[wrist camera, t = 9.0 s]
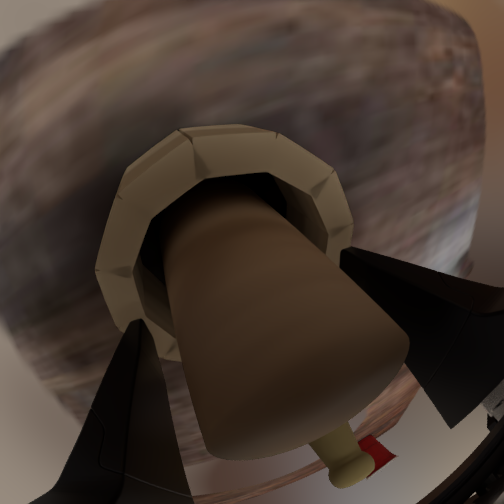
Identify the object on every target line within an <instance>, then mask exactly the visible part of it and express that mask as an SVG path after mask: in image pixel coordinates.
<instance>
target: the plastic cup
mask: <svg viewBox="0 0 504 504" xmlns="http://www.w3.org/2000/svg"><path fill="white" fill-rule="evenodd" d="M358 445H359V447H360V449H361V451H363V452H366V453H368V454H369V455H371V456H372V458H373V459H374V462H375V468H374V470H373V471H372V472H371V473H370V474H369V475H368V476H367V477H366V479H369V478H371V477H372V476H373V475H375V474H376V473H378V472H379V471H380V470H382V469H383V468H384V467H386V466H387V465H388V464H390V463H391V462H392V461H393V460H395V459H396V458H397V457H398V456H396V455H394V454H392V453H391V452H389V451H388V450H387V449H386V448H385V447H384V446H383V445H382V444H381V443H380V442H378V441H377V440H376V439H375V438H374V437H373V436H372V435H369V436H367V437H365V438H364V439H362V440H361V441H359V442H358Z"/></svg>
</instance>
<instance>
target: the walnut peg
mask: <svg viewBox="0 0 504 504" xmlns="http://www.w3.org/2000/svg"><path fill="white" fill-rule="evenodd" d="M159 239H160V247H161V254H162V261H163V268H164V274H165V281H166V287H167V293H168V298H169V304H170V309H171V314H172V319H173V324H174V329H175V334H176V339H177V343H178V348H179V352H180V357H181V361H182V365H183V369H184V373H185V377H186V381H187V385H188V389H189V392H190V396H191V400H192V403H193V407H194V410H195V414H196V417H197V420H198V424H199V427H200V430H201V433H202V436H203V439H204V442H205V445H206V448H207V450H208V452H209V453H210V454H212V455H213V456H215V457H218V458H221V459H226V460H253V459H259V458H265V457H270V456H274V455H277V454H281V453H284V452H287V451H290V450H293V449H296V448H298V447H301V446H303V445H306V444H308V443H310V442H312V441H314V440H316V439H318V438H320V437H322V436H324V435H326V434H328V433H330V432H331V431H333V430H335V429H336V428H338V427H340V426H341V425H343V424H344V423H346V422H347V421H349V420H350V419H351V418H353V417H354V416H355V415H357V414H358V413H359V412H361V411H362V410H363V409H364V408H366V407H367V406H368V405H369V404H370V403H371V402H372V401H373V400H375V399H376V398H377V397H378V396H379V395H380V394H381V393H382V392H383V390H384V389H385V388H386V387H387V386H388V385H389V384H390V382H391V381H392V380H393V379H394V377H395V376H396V374H397V373H398V372H399V370H400V368H401V367H402V365H403V363H404V361H405V359H406V357H407V354H408V351H409V344H410V342H409V337H408V335H407V334H406V333H405V332H404V331H403V330H402V329H401V328H400V327H399V326H398V325H397V323H396V322H395V321H394V320H393V319H392V318H391V317H390V316H389V315H388V314H387V313H386V312H385V311H384V310H383V309H382V308H381V307H380V306H379V305H378V304H376V303H375V302H374V301H373V300H372V299H371V298H370V297H369V296H368V295H367V294H366V293H365V292H364V291H363V290H362V289H361V288H360V287H359V286H358V285H357V284H356V283H355V282H354V281H353V280H352V279H351V278H350V277H349V276H347V275H346V274H345V273H344V272H343V271H342V270H341V269H340V268H339V267H338V266H337V265H336V264H335V263H334V262H333V261H331V260H330V259H329V258H328V257H327V256H326V255H325V254H324V253H323V252H322V251H321V250H319V249H318V248H317V247H316V246H315V245H314V244H313V243H312V242H311V241H310V240H308V239H307V238H306V237H305V236H304V235H303V234H302V233H301V232H300V231H298V230H297V229H296V228H295V227H294V226H293V225H292V224H290V223H289V222H288V221H287V220H286V219H285V218H284V217H282V216H281V215H280V214H279V213H278V212H277V211H276V210H274V209H273V208H272V207H271V206H270V205H269V204H267V203H266V202H265V201H264V200H263V199H262V198H260V197H259V196H258V195H257V194H256V193H254V192H253V191H252V190H251V189H250V188H248V187H247V186H245V185H243V184H242V183H239V182H237V181H234V180H230V179H222V178H215V179H207V180H203V181H200V182H199V183H198V184H196V185H195V186H193V187H192V188H191V189H189V190H188V191H187V192H185V193H184V194H183V195H181V196H180V197H179V198H177V199H176V200H175V201H173V202H172V203H171V204H170V205H168V207H167V208H166V210H165V212H164V214H163V217H162V220H161V223H160V229H159Z"/></svg>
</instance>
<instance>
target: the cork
mask: <svg viewBox="0 0 504 504" xmlns="http://www.w3.org/2000/svg"><path fill="white" fill-rule="evenodd" d="M308 444H309V445H310V446H311V447H312V449H313V450H314V451H315V452H316V454H317V455H318V456H319V458H320V459H321V460H322V461H323V462H324V464H325V465H326V466H327V467H328V469H329V475H328V476H329V480H330V482H331V483H332V484H333V485H334V486H335V487H337V488H346V487H349V486H352V485H354V484H356V483H357V482H359V481H361V480H363V479H364V478H366V477H367V476H368V475H369V474H370V473H371V472H372V471H373V470H374V468H375V462H374V459H373V458H372V456H371V455H369V454H368V453H366V452H363V451H361V449H360V447H359V445H358V442H357V440H356V438H355V436H354V434H353V432H352V430H351V427H350V425H349V423H348V421H347V422H346V423H344V424H343V425H341V426H340V427H338V428H336V429H335V430H333V431H331V432H330V433H328V434H326V435H324V436H322V437H320V438H318V439H316V440H314V441H312V442H310V443H308Z"/></svg>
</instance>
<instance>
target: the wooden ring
mask: <svg viewBox="0 0 504 504" xmlns="http://www.w3.org/2000/svg"><path fill="white" fill-rule="evenodd" d="M260 172H268V173H270V174H272V176H273V178H274V180H275V182H276V183H277V185H278V187H279V189H280V191H281V193H282V194H283V196H284V198H285V200H286V202H287V211H286V220H287V221H288V222H289V223H290V224H292V225H293V226H294V227H295V228H296V229H297V230H298V231H300V232H301V233H302V234H303V235H304V236H305V237H306V238H307V239H308V240H310V241H311V242H312V243H313V244H314V245H315V246H316V247H317V248H318V249H319V250H321V251H322V252H323V253H324V254H325V255H326V256H327V257H328V258H329V259H330V260H331V261H333V262H334V263H335V264H336V265H337V266H338V267H339V262H340V252H341V250H342V249H344V248H347V247H350V244H351V238H352V233H353V227H354V224H353V222H354V221H353V218H352V215H351V212H350V209H349V206H348V203H347V200H346V198H345V195H344V192H343V189H342V187H341V184H340V181H339V179H338V176H337V174H336V171H334V170H333V168H332V167H330V166H329V165H328V164H326V163H325V162H323V161H322V160H320V159H319V158H317V157H316V156H314V155H313V154H311V153H310V152H308V151H307V150H305V149H304V148H302V147H301V146H299V145H297V144H296V143H294V142H293V141H291V140H289V139H288V138H286V137H285V136H283V135H281V134H280V133H276V132H273V131H268V130H264V129H260V128H256V127H251V126H247V125H242V124H227V125H212V126H200V127H190V128H181V129H179V131H177V130H175V131H174V132H173V133H171V134H170V135H168V136H167V137H166V138H164V139H163V140H162V141H160V142H159V143H158V144H156V145H155V146H154V147H152V148H151V149H150V150H148V151H147V152H146V153H144V154H143V155H142V156H141V157H139V158H138V159H137V160H136V161H134V162H133V163H132V164H131V165H130V166H128V167H127V169H126V170H125V172H124V175H123V177H122V180H121V182H120V185H119V188H118V191H117V193H116V196H115V199H114V202H113V205H112V208H111V211H110V214H109V217H108V220H107V224H106V227H105V231H104V234H103V238H102V241H101V245H100V249H99V253H98V257H97V261H96V265H95V274H96V277H97V280H98V283H99V285H100V288H101V291H102V293H103V296H104V298H105V301H106V304H107V306H108V308H109V311H110V313H111V316H112V318H113V320H114V323H115V325H116V327H118V329H119V330H120V331H121V332H123V333H124V332H125V330H126V328H127V326H128V324H129V323H130V321H133V320H136V319H139V318H141V319H143V320H144V322H145V324H146V325H147V327H148V329H149V331H150V332H151V334H152V336H153V339H154V342H155V346H156V350H157V354H158V356H159V357H160V358H163V357H164V359H166V360H173V361H181V357H180V352H179V348H178V343H177V339H176V334H175V329H174V324H173V319H172V314H171V309H170V304H169V298H168V293H167V287H166V286H165V285H164V284H163V283H162V282H161V281H160V280H159V279H158V278H156V277H155V276H154V275H153V274H152V273H151V272H150V271H149V270H148V269H147V268H146V267H145V266H144V265H143V264H142V260H141V256H140V251H139V250H140V248H141V245H142V242H143V239H144V237H145V234H146V231H147V229H148V226H149V224H150V221H151V219H152V218H153V217H154V216H156V215H157V214H158V213H159V212H161V211H162V210H163V209H164V208H166V207H167V206H168V205H170V204H171V203H172V202H173V201H175V200H176V199H177V198H179V197H180V196H181V195H183V194H184V193H185V192H187V191H188V190H189V189H191V188H192V187H193V186H195V185H196V184H198V183H199V182H200V181H202V180H203V179H205V178H213V177H221V176H230V175H239V174H249V173H260ZM181 362H182V361H181Z"/></svg>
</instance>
